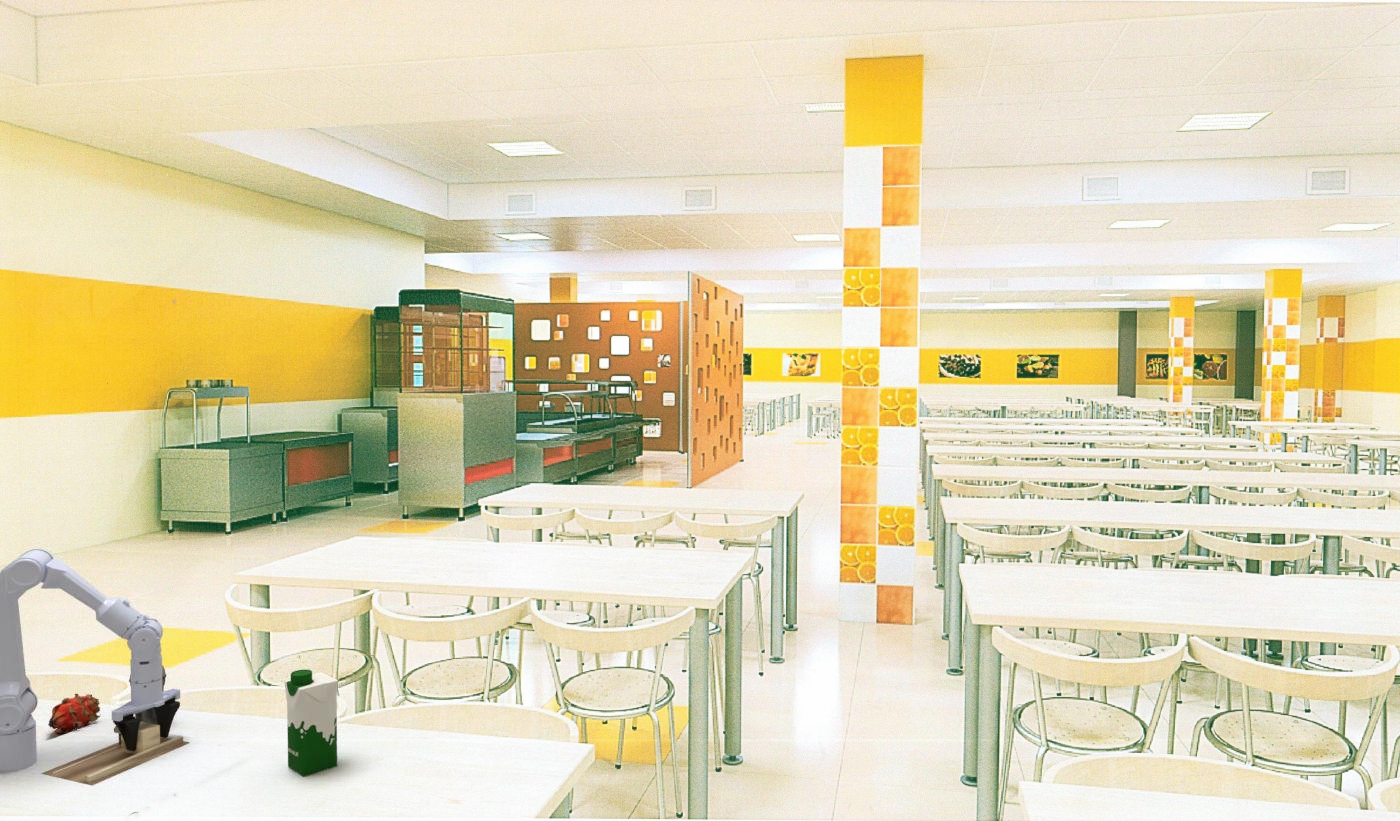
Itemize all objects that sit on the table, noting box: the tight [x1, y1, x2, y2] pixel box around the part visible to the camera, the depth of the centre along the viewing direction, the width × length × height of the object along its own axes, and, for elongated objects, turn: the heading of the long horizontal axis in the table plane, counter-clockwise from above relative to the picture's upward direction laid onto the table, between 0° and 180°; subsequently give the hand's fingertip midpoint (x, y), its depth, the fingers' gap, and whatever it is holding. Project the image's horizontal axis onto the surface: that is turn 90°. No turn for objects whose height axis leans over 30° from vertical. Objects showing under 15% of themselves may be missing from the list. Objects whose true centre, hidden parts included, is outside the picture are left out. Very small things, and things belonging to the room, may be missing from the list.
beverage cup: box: [128, 664, 167, 725], centre depth 215 cm, size 7×7×20 cm
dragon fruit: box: [47, 693, 102, 736], centre depth 213 cm, size 8×8×12 cm
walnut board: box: [41, 735, 191, 786], centre depth 196 cm, size 14×22×3 cm, turn 159°
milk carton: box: [284, 669, 339, 778], centre depth 196 cm, size 9×9×20 cm
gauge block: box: [113, 722, 160, 754], centre depth 200 cm, size 10×4×5 cm, turn 69°
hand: (147, 742), depth 201 cm, fingers open, 7 cm apart
